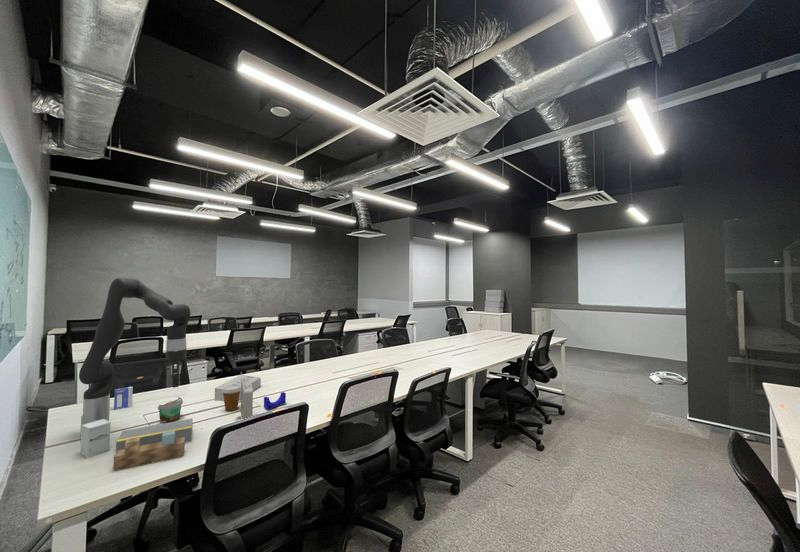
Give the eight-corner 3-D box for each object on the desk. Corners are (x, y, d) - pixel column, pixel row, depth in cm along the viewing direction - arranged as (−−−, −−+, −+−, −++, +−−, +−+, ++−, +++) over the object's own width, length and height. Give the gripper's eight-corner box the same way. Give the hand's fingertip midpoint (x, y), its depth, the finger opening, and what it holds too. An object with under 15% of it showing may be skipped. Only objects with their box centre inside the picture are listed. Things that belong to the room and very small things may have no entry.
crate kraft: (124, 453, 122) (125, 443, 123) (127, 449, 126) (127, 439, 126) (138, 451, 124) (138, 440, 125) (139, 446, 128) (140, 436, 128)
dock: (115, 457, 131) (116, 441, 131) (122, 444, 141) (122, 430, 141) (191, 441, 144) (191, 427, 144) (192, 430, 154) (192, 417, 155)
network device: (257, 430, 155) (257, 389, 155) (237, 434, 151) (237, 392, 151) (252, 412, 177) (253, 376, 178) (234, 415, 173) (235, 378, 173)
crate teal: (161, 446, 128) (162, 436, 128) (163, 442, 132) (163, 432, 132) (174, 443, 130) (174, 433, 131) (174, 439, 134) (175, 429, 134)
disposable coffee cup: (239, 410, 180) (240, 389, 180) (220, 412, 176) (221, 391, 177) (241, 404, 189) (241, 384, 189) (223, 406, 185) (223, 386, 186)
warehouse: (237, 401, 196) (237, 388, 196) (214, 400, 196) (214, 388, 196) (260, 385, 226) (260, 375, 226) (240, 385, 226) (240, 374, 226)
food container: (167, 426, 159) (167, 406, 160) (157, 425, 161) (157, 405, 161) (188, 416, 172) (188, 397, 172) (178, 415, 173) (179, 396, 173)
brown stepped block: (113, 473, 120) (113, 457, 120) (116, 466, 125) (117, 450, 125) (183, 457, 131) (183, 442, 132) (184, 451, 136) (184, 436, 136)
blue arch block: (267, 409, 182) (267, 398, 182) (263, 407, 185) (263, 397, 185) (286, 403, 191) (287, 393, 191) (282, 401, 194) (283, 391, 194)
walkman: (114, 411, 178) (114, 389, 178) (114, 410, 180) (114, 388, 180) (132, 407, 184) (133, 386, 184) (132, 406, 186) (132, 385, 186)
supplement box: (86, 460, 128) (87, 428, 129) (79, 455, 132) (80, 424, 132) (110, 451, 135) (111, 421, 135) (102, 447, 139) (103, 418, 139)
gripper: (167, 347, 148) (166, 382, 148) (165, 352, 137) (164, 390, 136) (186, 345, 153) (186, 379, 152) (186, 350, 141) (185, 387, 140)
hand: (176, 384), depth 144 cm, fingers open, 8 cm apart
